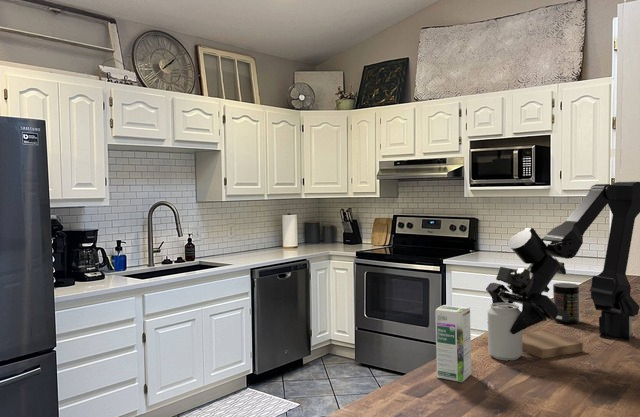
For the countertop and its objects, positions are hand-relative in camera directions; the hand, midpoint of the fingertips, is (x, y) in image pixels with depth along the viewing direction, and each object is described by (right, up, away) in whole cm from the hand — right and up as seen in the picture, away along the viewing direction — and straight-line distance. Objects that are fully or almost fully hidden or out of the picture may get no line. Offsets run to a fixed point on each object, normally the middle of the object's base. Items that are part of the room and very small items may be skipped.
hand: (499, 328), depth 121 cm
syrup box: (-13, -8, -10) cm, 18 cm away
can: (+2, -7, +1) cm, 7 cm away
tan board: (+12, -6, +6) cm, 15 cm away
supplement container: (+28, -5, +28) cm, 40 cm away
